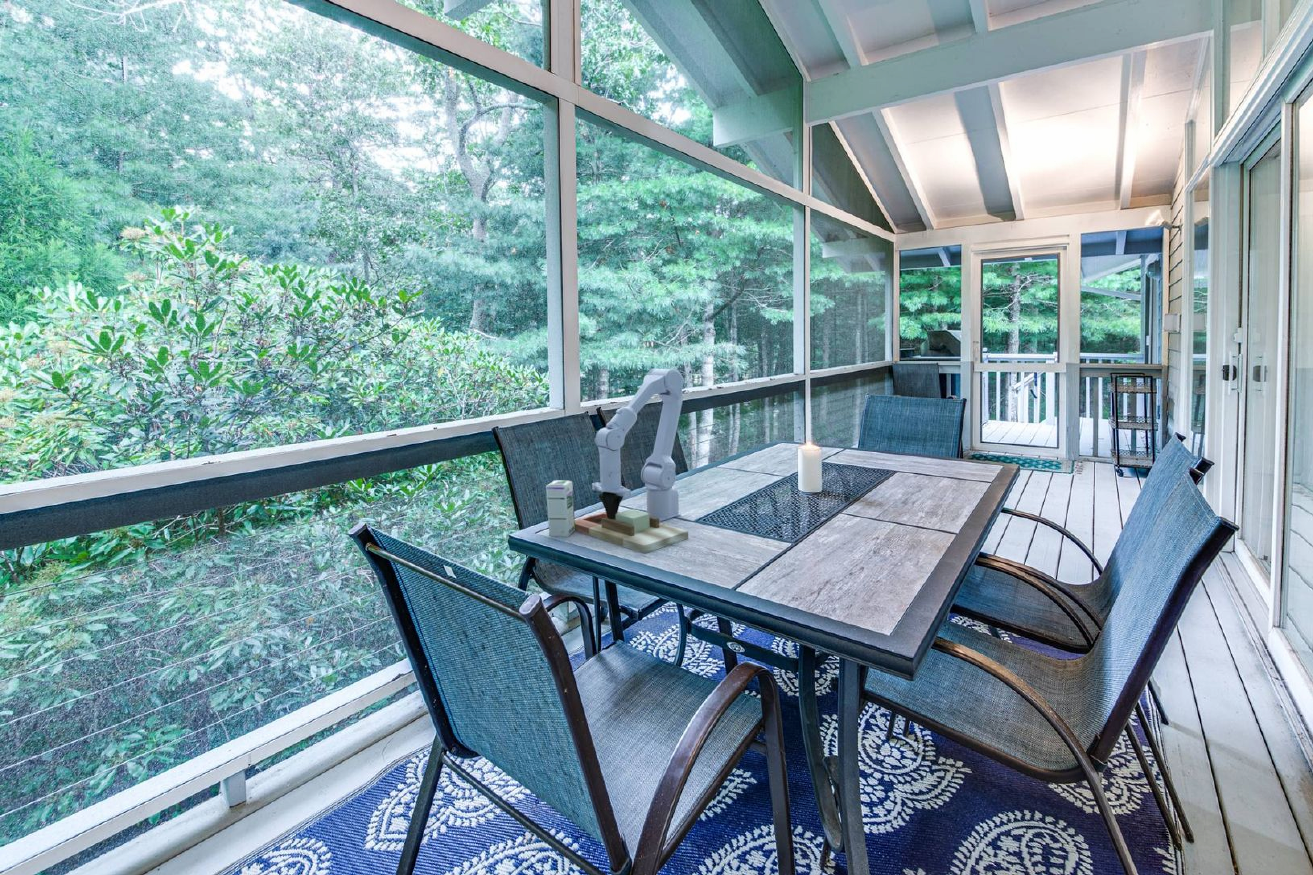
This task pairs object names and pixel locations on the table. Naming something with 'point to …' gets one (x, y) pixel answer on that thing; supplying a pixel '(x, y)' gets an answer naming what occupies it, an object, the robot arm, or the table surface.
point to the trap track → (630, 532)
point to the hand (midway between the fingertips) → (612, 518)
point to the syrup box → (560, 508)
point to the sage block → (634, 519)
